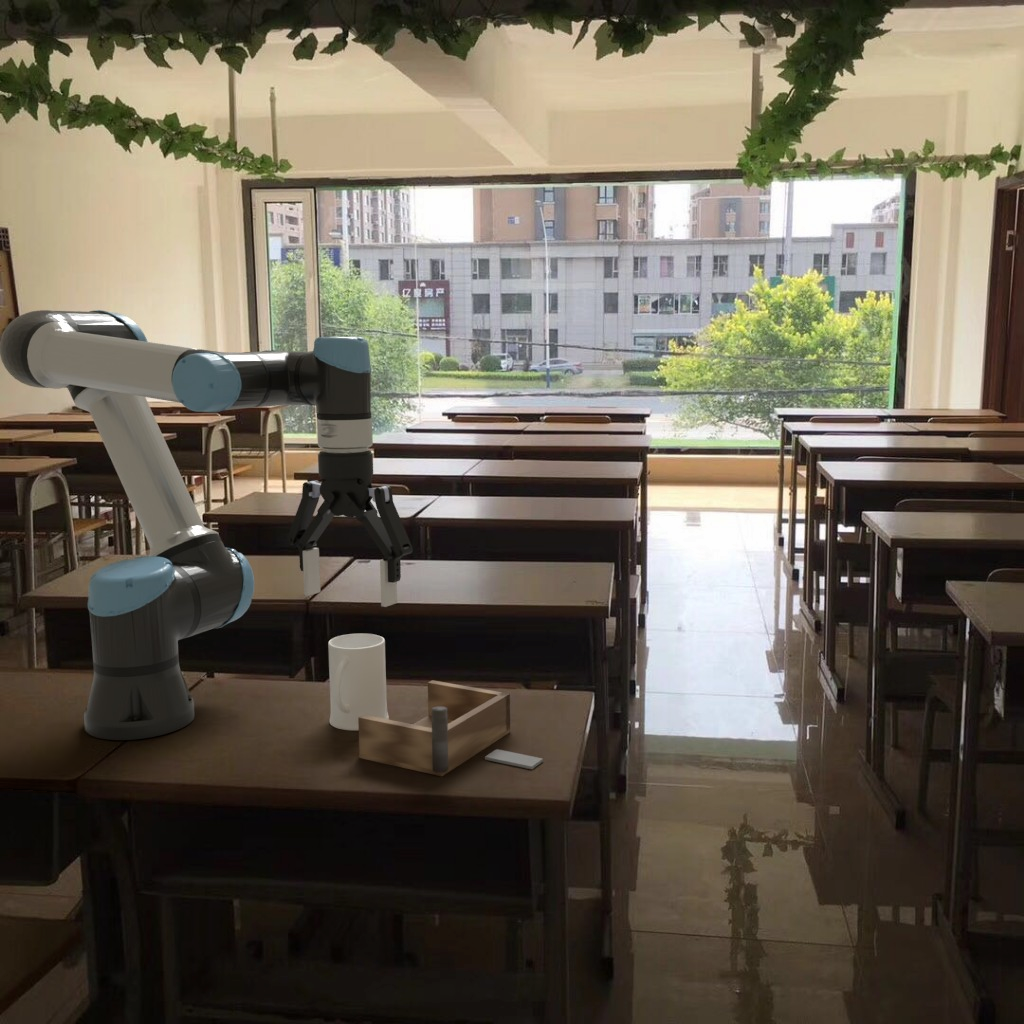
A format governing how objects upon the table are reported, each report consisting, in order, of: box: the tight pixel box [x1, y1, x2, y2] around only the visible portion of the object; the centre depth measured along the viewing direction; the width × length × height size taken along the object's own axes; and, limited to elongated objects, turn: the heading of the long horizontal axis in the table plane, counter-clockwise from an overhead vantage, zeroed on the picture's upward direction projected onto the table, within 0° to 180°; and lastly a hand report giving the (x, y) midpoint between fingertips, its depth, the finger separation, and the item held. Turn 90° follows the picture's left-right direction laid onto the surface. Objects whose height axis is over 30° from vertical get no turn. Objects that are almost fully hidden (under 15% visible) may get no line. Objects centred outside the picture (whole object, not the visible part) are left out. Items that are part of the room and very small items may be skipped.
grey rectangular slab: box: [484, 748, 544, 770], centre depth 141 cm, size 7×3×1 cm, turn 61°
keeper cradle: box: [358, 679, 511, 777], centre depth 146 cm, size 13×18×9 cm
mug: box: [327, 633, 390, 732], centre depth 154 cm, size 12×8×12 cm
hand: (350, 599), depth 152 cm, fingers open, 13 cm apart
